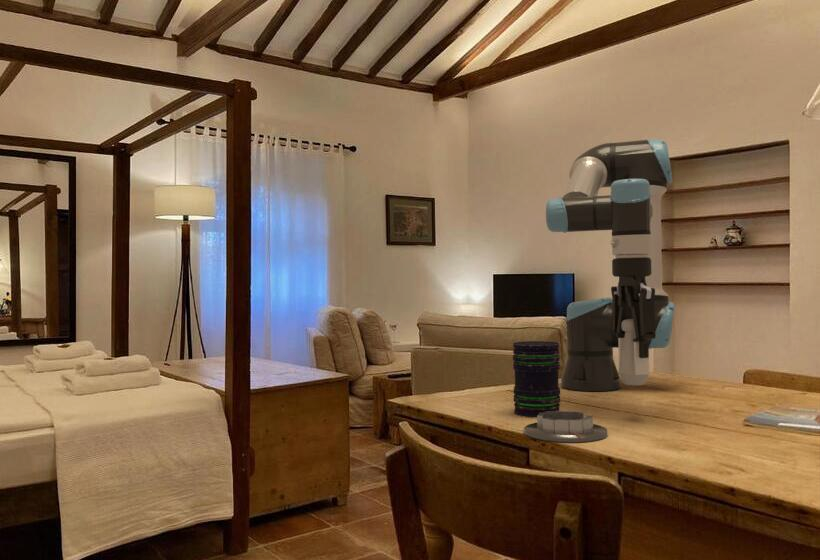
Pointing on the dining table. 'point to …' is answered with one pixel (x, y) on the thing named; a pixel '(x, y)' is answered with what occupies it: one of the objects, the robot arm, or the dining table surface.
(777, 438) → the dining table surface
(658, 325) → the robot arm
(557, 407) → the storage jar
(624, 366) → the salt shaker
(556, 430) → the socket
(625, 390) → the dining table surface
